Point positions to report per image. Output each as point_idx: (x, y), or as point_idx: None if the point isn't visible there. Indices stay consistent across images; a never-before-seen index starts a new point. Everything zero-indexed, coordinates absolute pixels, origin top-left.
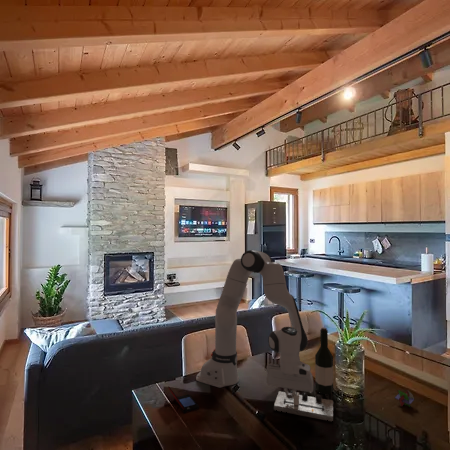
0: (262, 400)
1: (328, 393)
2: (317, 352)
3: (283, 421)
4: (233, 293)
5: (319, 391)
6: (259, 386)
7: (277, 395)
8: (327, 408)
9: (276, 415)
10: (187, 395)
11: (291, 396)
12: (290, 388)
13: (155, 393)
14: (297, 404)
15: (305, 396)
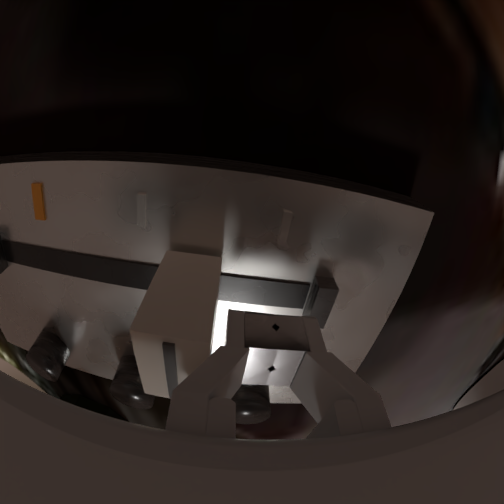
0: (445, 305)
1: (68, 398)
2: None
3: (335, 20)
4: None
5: (103, 412)
6: (405, 403)
7: (360, 363)
8: None
9: (398, 112)
10: None
11: (248, 332)
12: (276, 450)
13: None
14: (174, 255)
15: (123, 372)
